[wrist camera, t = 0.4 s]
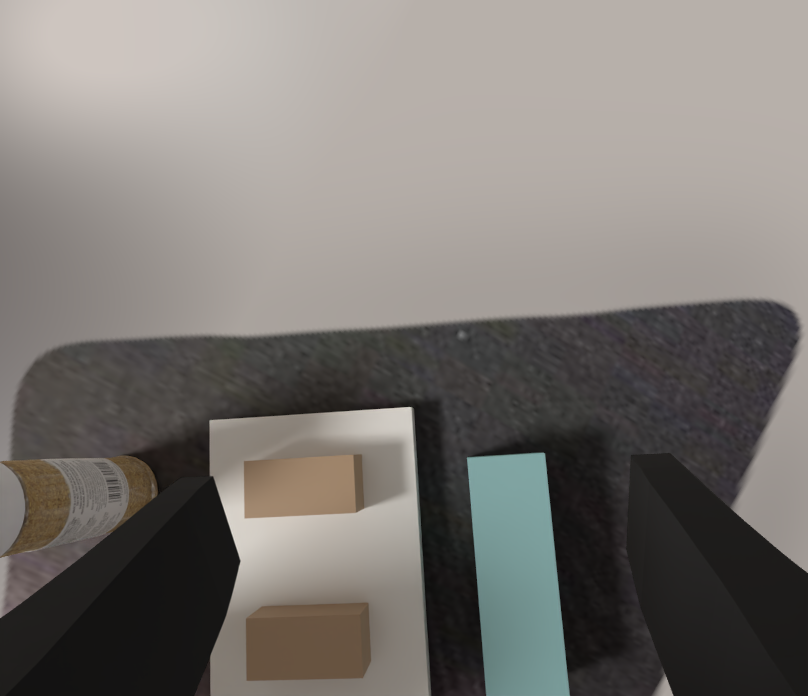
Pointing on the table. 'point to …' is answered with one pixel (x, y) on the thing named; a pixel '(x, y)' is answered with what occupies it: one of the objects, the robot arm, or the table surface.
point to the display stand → (322, 556)
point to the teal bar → (517, 576)
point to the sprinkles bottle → (68, 499)
